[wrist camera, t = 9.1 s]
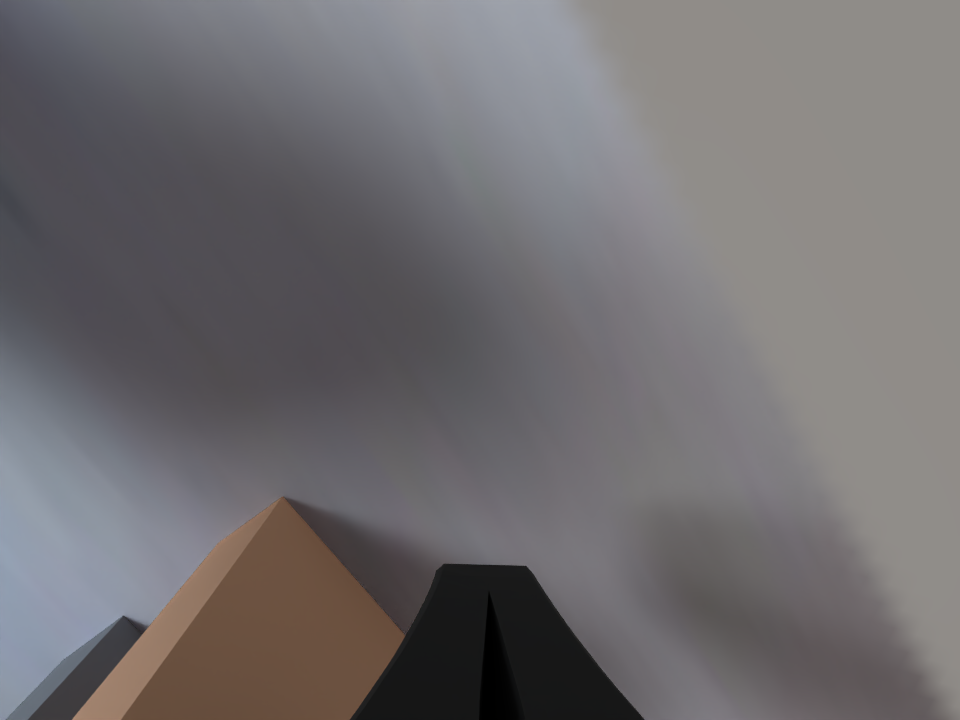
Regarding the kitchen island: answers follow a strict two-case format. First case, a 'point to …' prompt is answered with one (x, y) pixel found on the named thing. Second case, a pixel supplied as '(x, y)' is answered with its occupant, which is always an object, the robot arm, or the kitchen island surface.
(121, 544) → the kitchen island surface
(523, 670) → the robot arm
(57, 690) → the tile
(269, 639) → the tile head
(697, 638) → the kitchen island surface
